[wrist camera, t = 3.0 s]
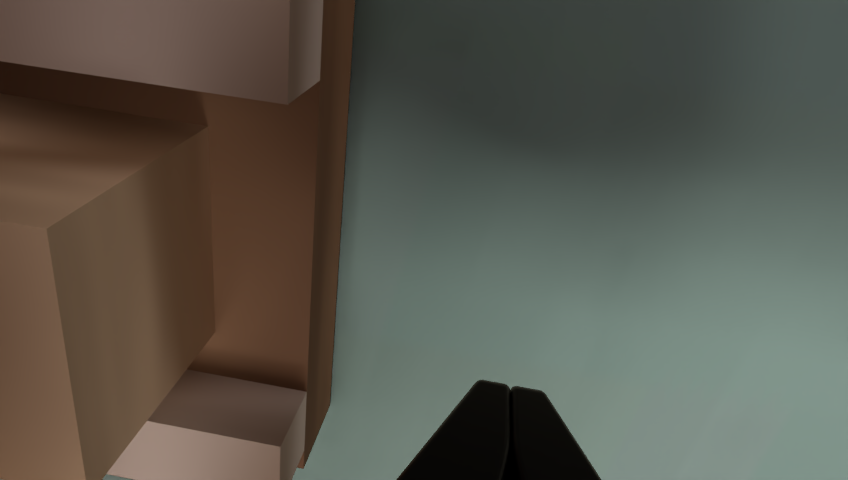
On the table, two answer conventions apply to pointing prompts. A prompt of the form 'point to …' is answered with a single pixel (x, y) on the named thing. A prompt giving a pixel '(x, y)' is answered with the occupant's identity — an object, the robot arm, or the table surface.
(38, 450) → the brown wooden cube
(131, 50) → the slot board
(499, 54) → the table surface
